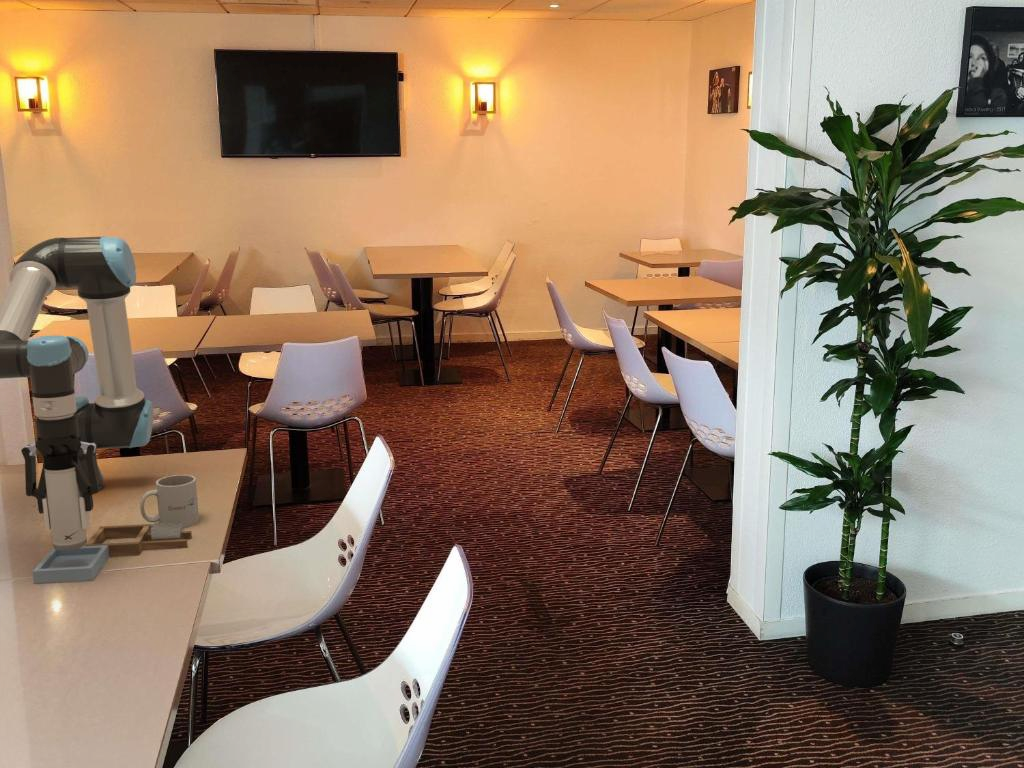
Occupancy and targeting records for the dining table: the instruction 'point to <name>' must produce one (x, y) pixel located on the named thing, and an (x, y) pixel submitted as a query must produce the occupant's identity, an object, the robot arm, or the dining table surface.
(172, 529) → the light gray block
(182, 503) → the mug
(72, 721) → the dining table surface
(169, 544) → the brown flat open frame
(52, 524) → the travel mug
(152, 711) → the dining table surface
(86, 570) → the tray
